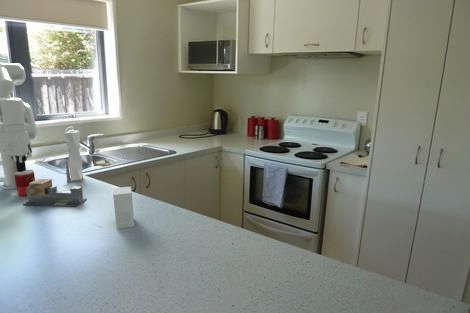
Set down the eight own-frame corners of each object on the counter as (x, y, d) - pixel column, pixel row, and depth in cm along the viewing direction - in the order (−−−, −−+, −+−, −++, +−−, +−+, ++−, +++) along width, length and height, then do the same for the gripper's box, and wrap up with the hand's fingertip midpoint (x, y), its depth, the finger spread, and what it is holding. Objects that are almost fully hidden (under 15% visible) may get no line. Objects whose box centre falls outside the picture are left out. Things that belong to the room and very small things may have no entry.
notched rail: (23, 205, 147) (21, 189, 146) (37, 198, 156) (35, 183, 154) (76, 207, 145) (74, 191, 143) (87, 199, 154) (85, 184, 152)
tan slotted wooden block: (30, 195, 147) (29, 183, 146) (40, 190, 153) (38, 178, 152) (44, 195, 147) (42, 183, 145) (53, 191, 153) (51, 179, 152)
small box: (116, 220, 131) (113, 187, 128) (134, 218, 133) (131, 186, 130) (116, 229, 123) (112, 194, 121) (134, 226, 125) (131, 192, 122)
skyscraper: (69, 178, 186) (63, 126, 180) (85, 176, 189) (79, 125, 182) (66, 182, 179) (60, 128, 172) (83, 181, 181) (77, 128, 175)
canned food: (31, 197, 157) (27, 174, 155) (13, 197, 157) (9, 174, 155) (40, 191, 165) (37, 169, 162) (24, 191, 165) (20, 169, 162)
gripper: (-9, 130, 141) (-2, 173, 145) (25, 129, 140) (32, 173, 144) (5, 127, 149) (11, 168, 153) (37, 127, 147) (43, 169, 151)
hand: (21, 171), depth 148 cm, fingers closed
